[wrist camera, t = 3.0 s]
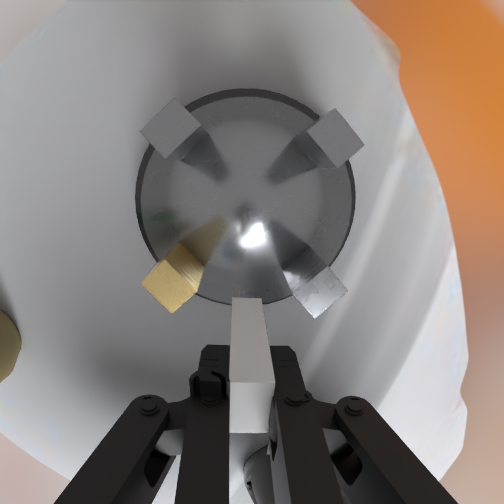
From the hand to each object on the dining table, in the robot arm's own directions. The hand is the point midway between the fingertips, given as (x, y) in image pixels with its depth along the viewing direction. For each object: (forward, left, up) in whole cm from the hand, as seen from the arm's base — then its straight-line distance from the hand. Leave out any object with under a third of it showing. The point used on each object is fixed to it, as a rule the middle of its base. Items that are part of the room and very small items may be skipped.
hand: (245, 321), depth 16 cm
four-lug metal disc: (+4, -4, -7) cm, 9 cm away
